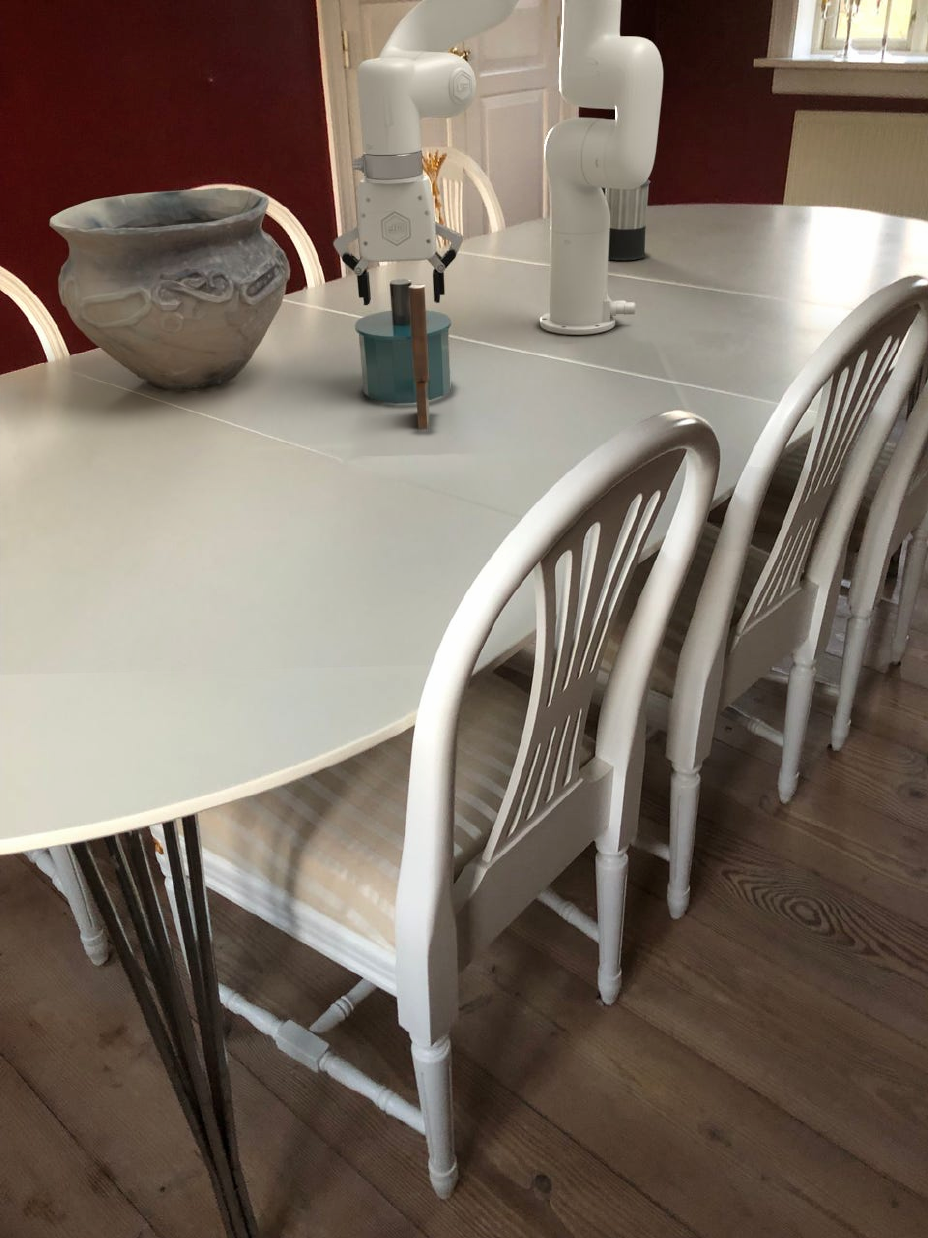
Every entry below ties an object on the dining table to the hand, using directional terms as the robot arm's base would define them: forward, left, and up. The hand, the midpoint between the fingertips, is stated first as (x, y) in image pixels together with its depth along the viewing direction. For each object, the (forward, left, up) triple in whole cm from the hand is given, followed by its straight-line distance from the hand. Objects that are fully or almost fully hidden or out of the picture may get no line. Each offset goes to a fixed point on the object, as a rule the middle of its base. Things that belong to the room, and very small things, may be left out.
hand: (402, 301), depth 142 cm
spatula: (-3, +13, -13) cm, 19 cm away
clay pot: (+33, -9, -13) cm, 37 cm away
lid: (0, 0, -3) cm, 3 cm away
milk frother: (-37, -79, -13) cm, 88 cm away
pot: (0, 0, -13) cm, 13 cm away
